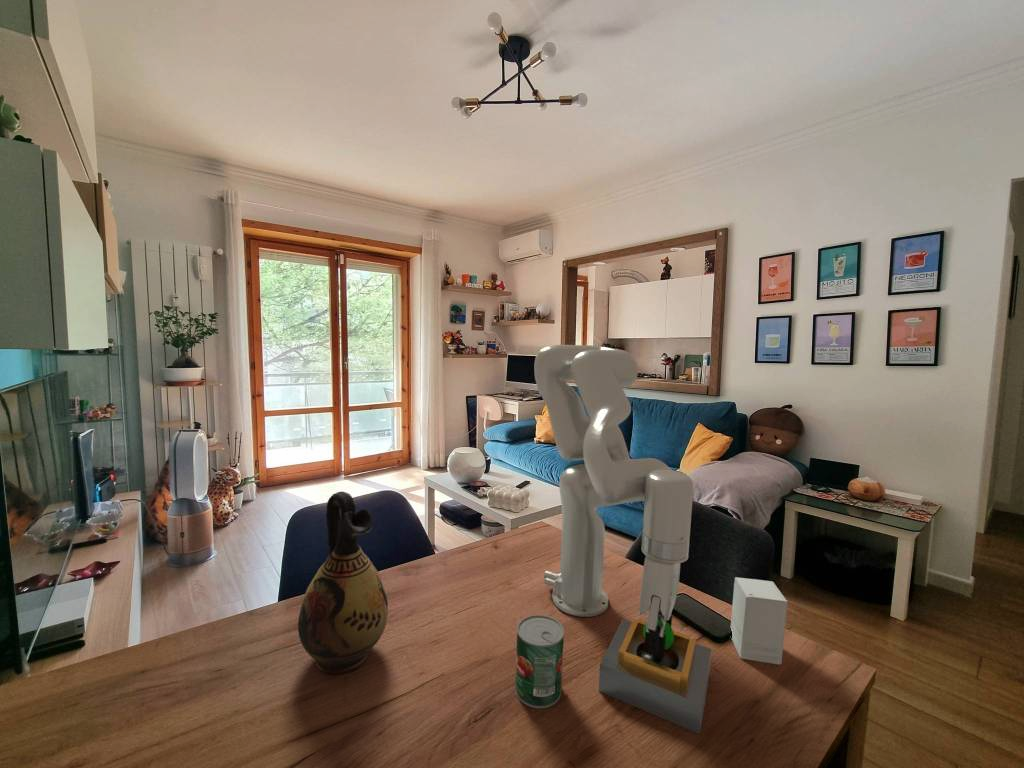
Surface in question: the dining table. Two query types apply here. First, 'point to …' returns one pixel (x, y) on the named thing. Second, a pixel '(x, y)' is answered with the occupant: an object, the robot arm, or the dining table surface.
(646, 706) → the grey yellow socket base
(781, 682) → the dining table surface
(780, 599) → the supplement box
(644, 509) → the robot arm
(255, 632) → the dining table surface
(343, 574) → the ceramic jug
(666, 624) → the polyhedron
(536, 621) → the canned tomato
